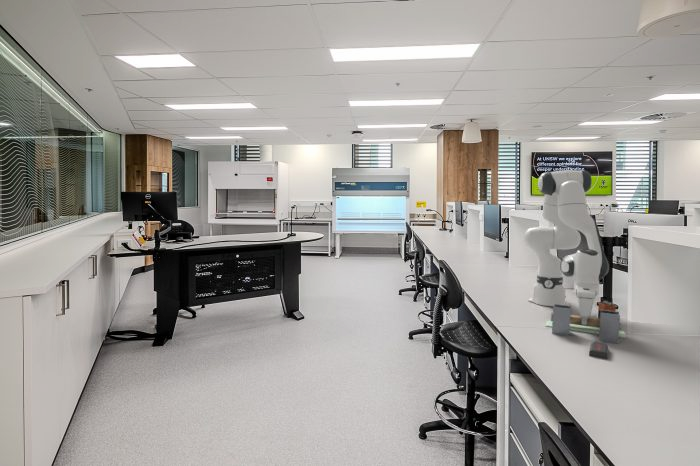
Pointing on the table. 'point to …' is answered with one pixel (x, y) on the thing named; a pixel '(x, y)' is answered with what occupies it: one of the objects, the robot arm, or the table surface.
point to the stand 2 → (609, 326)
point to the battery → (605, 307)
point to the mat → (585, 329)
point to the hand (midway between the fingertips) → (584, 322)
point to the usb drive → (598, 350)
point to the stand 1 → (561, 319)
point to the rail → (578, 321)
